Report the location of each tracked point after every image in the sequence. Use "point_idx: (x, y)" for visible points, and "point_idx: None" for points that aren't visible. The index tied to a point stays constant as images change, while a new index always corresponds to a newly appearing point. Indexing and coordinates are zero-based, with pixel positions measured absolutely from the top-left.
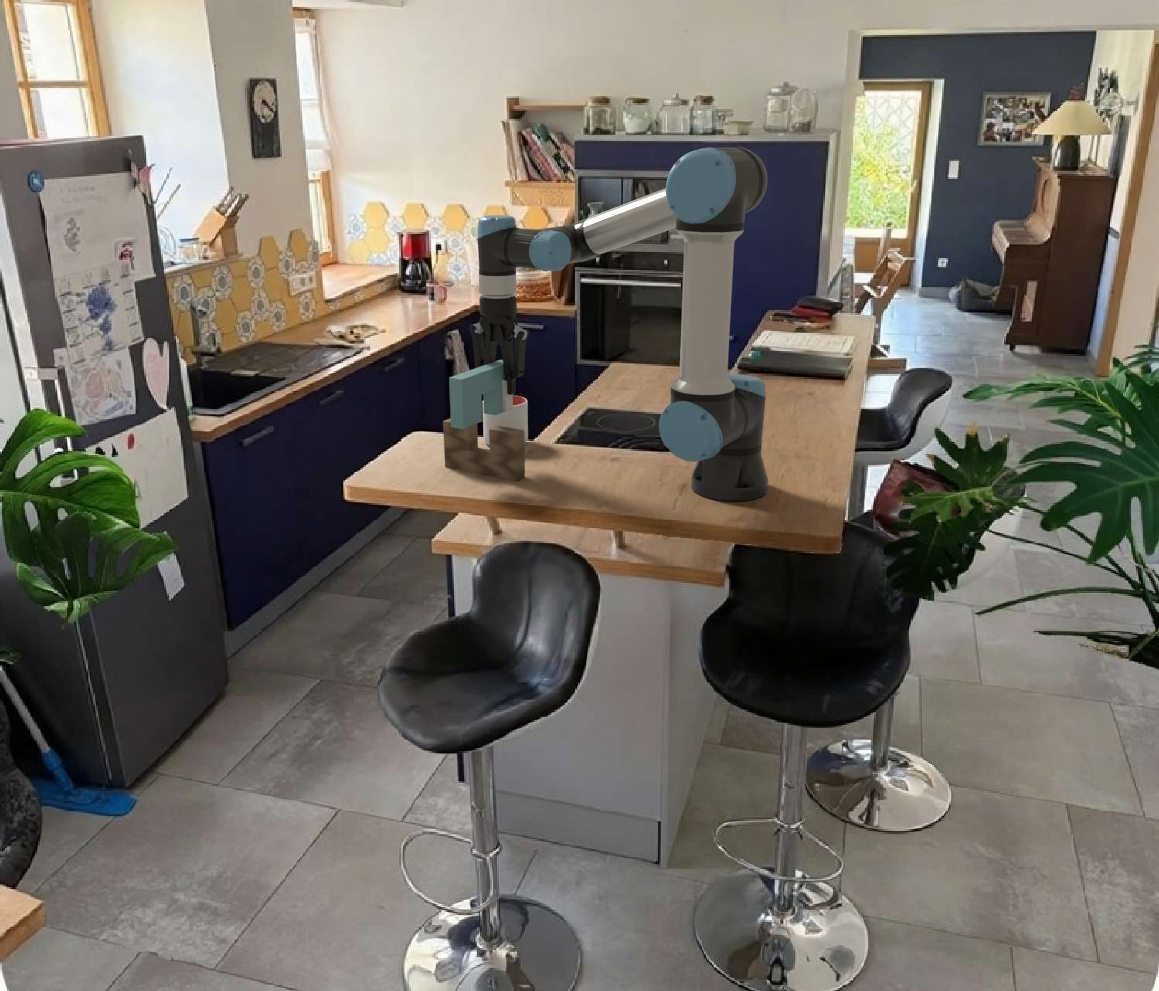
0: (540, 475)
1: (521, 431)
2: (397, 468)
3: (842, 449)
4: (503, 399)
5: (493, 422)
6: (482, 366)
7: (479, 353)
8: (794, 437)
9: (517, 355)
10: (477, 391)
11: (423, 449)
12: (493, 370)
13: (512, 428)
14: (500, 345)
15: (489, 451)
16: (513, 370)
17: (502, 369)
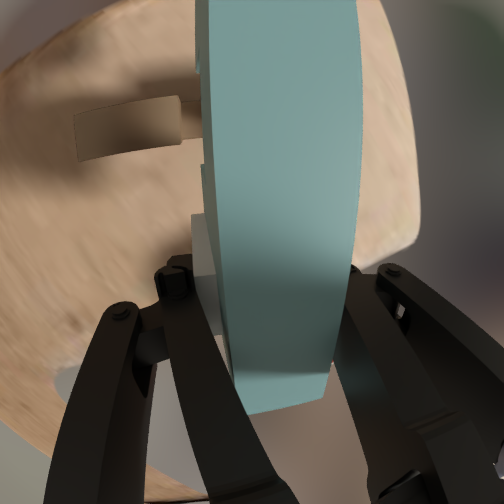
0: (99, 176)
1: (76, 145)
2: (367, 61)
3: (4, 423)
4: (202, 229)
5: None
6: (348, 207)
7: (444, 339)
8: (44, 437)
9: (72, 432)
10: (200, 2)
11: (388, 173)
12: (215, 205)
13: (118, 151)
14: (275, 498)
15: (200, 124)
16: (128, 332)
17: (225, 319)
